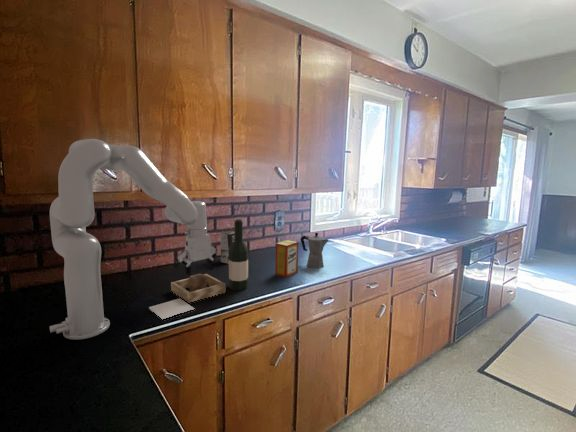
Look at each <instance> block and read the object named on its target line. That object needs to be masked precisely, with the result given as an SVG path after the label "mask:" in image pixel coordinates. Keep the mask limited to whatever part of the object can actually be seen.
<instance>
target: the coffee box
mask: <svg viewBox="0 0 576 432" xmlns="http://www.w3.org/2000/svg"><path fill="white" fill-rule="evenodd" d="M234 241H235V230H230V231H226V232H220V262H221V263H224V264H227V265H229V249H230V247H231V246H232V244H233V242H234Z"/></svg>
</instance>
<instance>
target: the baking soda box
mask: <svg viewBox="0 0 576 432" xmlns="http://www.w3.org/2000/svg"><path fill="white" fill-rule="evenodd" d="M298 261H299V241H295V240H289V239H287V240H282V241H280V242H276V243H275V263H274V264H275V266H274V267H275V270H274V271H275V272H274V273H275V274H274V275H276V276H279V277H283V278H288V277H290V276H293V275H295V274H297V273H298V271H299V270H298V266H299V265H298V263H299V262H298Z"/></svg>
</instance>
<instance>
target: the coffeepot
mask: <svg viewBox="0 0 576 432" xmlns="http://www.w3.org/2000/svg"><path fill="white" fill-rule="evenodd" d="M314 234H315V235H314V236H313V235H312V236H309V235H303V236H301V237H300V243H301V246H302V249H303V251H306V252H307V251H308V249H309V252H308V258H307V261H306V262H307V263H306V266H307V267H308V268H312V269H321V268H323V267H324V260H323V259H324V258H323V251H324V247H325V245H326V244H327V242H329V240H328V239H327V238H325V237H323V236H319V233H318V232H315V233H314ZM305 240H306V241H307V242H308V249H307V248H306V244H305Z"/></svg>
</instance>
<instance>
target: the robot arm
mask: <svg viewBox="0 0 576 432" xmlns="http://www.w3.org/2000/svg"><path fill="white" fill-rule="evenodd" d="M99 169H101V170H110V171H119V172H120V171H122V172H125V173H126V174H127V176H129V177H130V179H132V180H133V182H134V183H135V184H136V185H137V186H138V187H139V188H140V190H142V191H143V193H145V194H146V195H147V196H149V197H150V198H152V199H155V200H156V201H158V202H161V203H162V204H163V205H165V208H164V211H163V212H164V216H165V217H166V219H167V220H169V221H171V222H173V223H177V224H182V225H187V228H186V230H185V231H184V235H186V238H185V243H184V251H183V252H182V253H181V254H179V255H178V256H177V259H178V261H179V263H180V264H181V265H182V266H184V274H185V275H186V276H188V277H190V276H192V270H191V269H192V267H191V264H192V263H194V262H200V261H204V260H206V269H207V270H209V271H213V268H214V267H213V266H214V265H213V261H214V259H215V257H216V256H217V253H218V251H219V249H217V248H216V247H213V246H212V241H211V237H210V233H208V220H207V205H206V202H204V201H202V200H194V201H193V200H190V198H189V197H188V196H187V195H186V194H185V193H184V192H183V191H182V190H181V189H179V188H178V187H177V186H175V185H174V184H173V183H172V182H170V180H169V179H167V178H166V177H165V176H164V175H163V174H162V173H161V172H160V170H159V169H158V168H157V167H156V166H155V165H154V163H153V162H152V161H151V160H150V158H149V157H148V156H147V155H146V154H145V153H144V152H143V151H142V150H141V149H140V148H139V147H137V146H134V145H113V144H108V143H107V142H106V141H104V140H101V139H96V138H88V139H79V140H76V141H74V142H73V143H71V145H70V146H69V148H68V153H67V155H66V156H65V157H64V159H63V160H62V162H61V164H60V167H59V170H58V175H57V178H58V180H57V182H58V184H57V185H58V190H57V191H58V196H57V197H56V198H55V199H54V200H53V201H52V202H51V204H50V208H49V223H50V231H51V232H50V233H51V242H52V243H51V244H52V246H53V249H54V251H55V252H56V254H58V255H59V256H61V257H62V258H63V260H64V261H63V262H64V264H63V265H64V266H63V281H64V283H63V284H64V289H65V290H64V291H65V298H66V299H65V301H66V310H67V312H66V314H67V317H65V320H64V321H61V322H60V323H57V324H53V325H50V326H49V331H50V333H54V332H55V333H56V334H61V333H62V335H63V337H64V338H66V339H68V340H76V341H78V340H84V339H85V340H86V339H89V338H93V337H96V336H99V335H100V334H103V333H104V332H106V331H107V330H108V329H109V328H110V326H111V321H110V319H109V318H107V317H105V314H104V301H103V289H102V277H101V276H102V275H101V259H102V246H101V244H100V242H99V240H98V238H97V237H95V236H94V234H93V235H92V234H91V233H88V232H87V228H86V227H89V226H90V225H91V224H92V223H93V221H94V220H95V215H96V213H95V203H94V200H95V199H94V188H93V186H94V185H93V183H94V182H93V181H94V178H95V175H96V173H97V171H98V170H99ZM184 258H185V260H184Z"/></svg>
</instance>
